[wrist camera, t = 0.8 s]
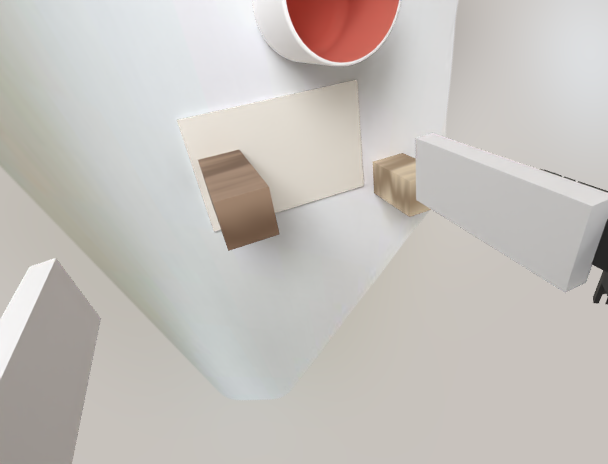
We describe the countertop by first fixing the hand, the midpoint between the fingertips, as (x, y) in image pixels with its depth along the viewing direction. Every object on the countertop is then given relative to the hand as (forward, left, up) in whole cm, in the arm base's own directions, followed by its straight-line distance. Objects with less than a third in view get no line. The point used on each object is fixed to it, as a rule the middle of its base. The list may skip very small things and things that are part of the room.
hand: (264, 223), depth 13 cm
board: (+7, +8, -27) cm, 29 cm away
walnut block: (+7, +1, -26) cm, 27 cm away
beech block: (+13, +22, -27) cm, 37 cm away
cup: (-7, +12, -27) cm, 30 cm away
